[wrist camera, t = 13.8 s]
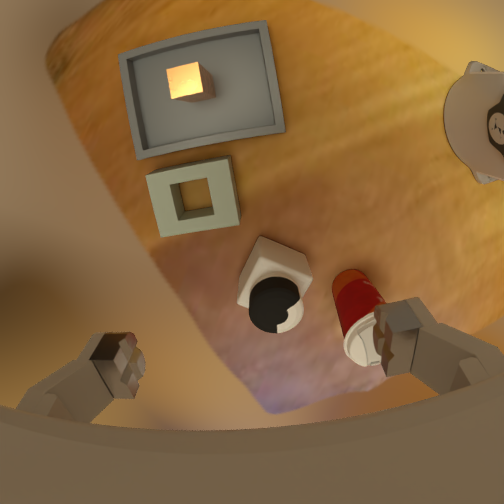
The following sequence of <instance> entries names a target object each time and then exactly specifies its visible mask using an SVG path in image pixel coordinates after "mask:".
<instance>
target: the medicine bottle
mask: <svg viewBox="0 0 504 504" xmlns="http://www.w3.org/2000/svg"><path fill="white" fill-rule="evenodd" d="M312 281H313V277H312V274H311V270H310V267H309V264H308V261H307V258H306V255H305V254H303V253H300V252H298V251H296V250H293V249H291V248H289V247H286V246H284V245H281V244H279V243H277V242H274V241H272V240H270V239H267V238H265V237H263V236H259V237H258V239H257V241H256V243H255V246H254V248H253V250H252V252H251V254H250V256H249V258H248V260H247V262H246V264H245V266H244V268H243V270H242V272H241V275H240V277H239V286H238V296H237V303H238V304H239V305H241V306H244V307H246V308H249V316H250V319H251V321H252V323H253V324H254V325H255V326H256V327H257V328H259V329H261V330H263V331H265V332H269V333H281V332H285V331H288V330H290V329H292V328H293V327H295V326H296V325H297V324H298V323H299V322H300V320H301V319H302V316H303V313H304V306H303V301H302V298H303V296H304V294H305V293H306V291H307V289H308V287H309V286H310V284H311V282H312Z"/></svg>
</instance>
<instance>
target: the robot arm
mask: <svg viewBox="0 0 504 504" xmlns="http://www.w3.org/2000/svg"><path fill="white" fill-rule="evenodd" d="M481 70H482V72H481ZM444 123H445V130H446V134H447V137H448V140H449V143H450V145H451V147H452V149H453V151H454V152H455V154H456V155H457V156H458V158H459V159H460V160H461V161H462V162H463V163H465V164H466V165H467V166H468V167H469V168H470V169H471V171H472V173H473V175H474V177H475V179H476V180H477V182H478V183H481V184H487V183H490V182H493V181H495V180H498V179H499V180H502V181H504V72H500V71H498V70H495V69H493V68H491V67H489V66H487V65H484V64H482V63H479V62H477V61H471V62H469V64H468V66H467V68H466V71H465V73H464V75H463V76H462V77H461V78H460V79H459V80H458V81H457V82H456V83H455V84H454V85H453V86H452V88H451V89H450V91H449V93H448V96H447V98H446V102H445V108H444ZM374 318H375V320H376V322H377V323H376V324H375V325H374V326H373V343H374V347H375V350H376V353H377V354H378V355H380V356H381V365H382V367H383V370H384V372H385V375H386V377H389V376H394V375H399V374H404V373H408V372H411V374H412V375H414V376H415V377H416V378H418V379H419V380H420V381H422V382H423V383H425V384H426V385H427V386H429V387H430V388H431V389H433V390H434V391H435V392H437V393H438V394H439V396H436V397H432V398H429V399H425V400H422V401H418V402H414V403H411V404H407V405H403V406H399V407H395V408H391V409H387V410H382V411H378V412H373V413H368V414H363V415H358V416H353V417H347V418H342V419H336V420H330V421H323V422H316V423H308V424H300V425H291V426H281V427H270V428H258V429H243V430H242V429H241V430H214V431H213V430H211V431H186V430H184V431H183V430H155V429H140V428H127V427H116V426H107V425H99V424H92V423H90V422H91V421H92V420H93V419H94V418H95V417H96V416H97V415H98V414H99V413H100V412H101V411H102V410H103V409H105V408H106V406H108V405H109V404H110V403H111V402H112V401H113V400H114V399H113V398H120V399H121V398H122V399H134V398H135V396H136V393H137V390H138V388H139V383H138V380H139V379H140V378H141V377H143V374H144V372H145V359H144V356H143V353H142V351H141V350H140V349H138V348H137V347H136V344H137V339H136V337H135V335H134V334H133V333H131V332H100V333H95V334H93V335H92V337H91V338H90V340H89V341H88V343H87V344H86V346H85V348H84V349H83V351H82V352H81V354H80V355H79V357H78V359H77V360H72V361H71V362H69V363H68V364H66V365H65V366H63V367H62V368H60V369H59V370H57V371H55V372H54V373H52V374H51V375H49V376H48V377H46V378H45V379H43V380H42V381H40V382H38V383H37V384H35V385H34V386H32V387H31V388H29V389H28V390H27V392H26V393H25V395H24V397H23V398H22V400H21V401H20V403H19V404H18V406H17V407H16V409H14V408H10V407H6V406H2V405H0V504H504V355H503V354H502V352H501V351H500V350H499V349H498V347H496V346H494V345H491V344H489V343H487V342H485V341H482V340H480V339H478V338H475V337H473V336H471V335H469V334H466V333H464V332H462V331H459V330H457V329H455V328H453V327H450V326H448V325H446V324H443V323H439V324H438V323H437V322H436V320H435V319H434V317H433V316H432V315H431V313H430V312H429V311H428V309H427V308H426V306H425V305H424V304H423V302H422V301H421V300H420V298H418V297H414V298H409V299H405V300H402V301H397V302H392V303H386V304H381V305H376V306H375V309H374Z"/></svg>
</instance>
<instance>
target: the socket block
mask: <svg viewBox="0 0 504 504" xmlns="http://www.w3.org/2000/svg"><path fill="white" fill-rule="evenodd" d="M201 178H207V180H208V185H209V190H210V194H211V199H212V204H213V207H208V208H203V209H197V210H191V211H184V206H183V202H182V198H181V193H180V189H179V184H178V183H181V182H186V181H191V180H196V179H201ZM146 180H147V184H148V189H149V193H150V197H151V201H152V205H153V209H154V213H155V217H156V221H157V224H158V228H159V232H160V236H161V237H166V236H172V235H178V234H185V233H191V232H197V231H203V230H210V229H216V228H222V227H229V226H235V225H240V219H241V212H240V206H239V201H238V195H237V190H236V184H235V179H234V173H233V167H232V162H231V156H230V155H227V156H222V157H216V158H211V159H205V160H200V161H195V162H190V163H185V164H180V165H175V166H171V167H166V168H162V169H157V170H154V171H152V172H151V173H149V174H147V175H146Z"/></svg>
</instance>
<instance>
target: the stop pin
mask: <svg viewBox="0 0 504 504" xmlns="http://www.w3.org/2000/svg"><path fill="white" fill-rule="evenodd" d="M166 70H167V76H168V82H169V88H170V94H171V99H175V100H180V101H185V102H191V103H193V102H198V101H203V100H208V99H213V98H216V94H215V88H214V82H213V77H212V74H211V73H209V72H208V71H207V70H206V69H205V68H204V67H203V66H202V65H201V64H200V63H199V62H195V63H191V64H186V65H182V66H178V67H174V68H170V69H166Z"/></svg>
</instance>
